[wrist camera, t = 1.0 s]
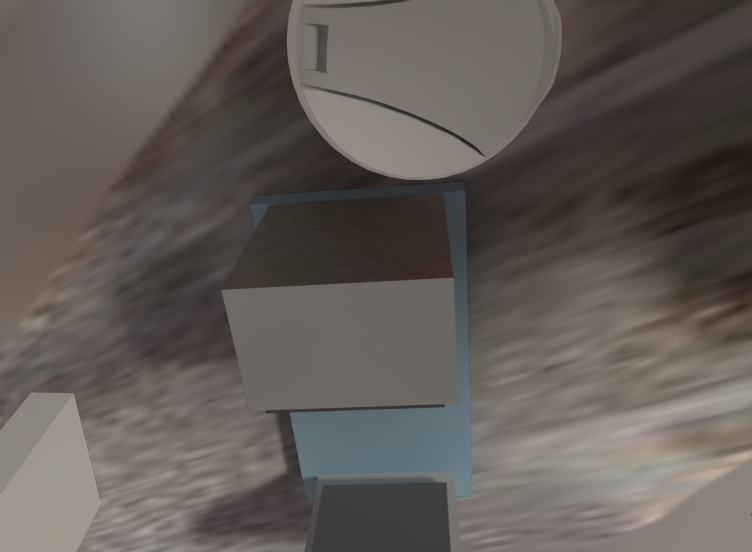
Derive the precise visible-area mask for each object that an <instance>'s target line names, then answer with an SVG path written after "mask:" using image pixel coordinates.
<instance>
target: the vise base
mask: <svg viewBox="0 0 752 552" xmlns="http://www.w3.org/2000/svg"><path fill="white" fill-rule="evenodd" d="M438 194H443V195H444V203H445V211H446V219H447V227H448V236H449V244H450V252H451V260H452V268H453V276H454V301H455V331H456V360H457V389H458V404H444V405H445V407H439V408H410V409H381V410H351V411H322V412H293V413H290V417H291V422H292V427H293V433H294V438H295V443H296V448H297V453H298V458H299V464H300V469H301V474H302V479H303V484H304V489H305V495H306V500H314V503H313V509H312V514H311V520H310V525H309V531H308V536H307V542H306V547H305V552H461V549H460V537H459V524H458V511H457V498H456V497H472V459H471V415H470V372H469V328H468V284H467V241H466V197H465V187H464V182H452V183H436V184H421V185H406V186H391V187H376V188H361V189H346V190H330V191H315V192H300V193H285V194H270V195H255V197H254V199H253V200H252V202H251V203H250V210H251V215H252V220H253V226H254V231H255V230H256V228H257V226H258V225H259V223H260V221H261V219H262V217H263V216H264V214H265V212H266V210H267V209H268V207H269V205H283V204H298V203H314V202H329V201H345V200H360V199H376V198H391V197H407V196H422V195H438Z"/></svg>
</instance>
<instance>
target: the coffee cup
mask: <svg viewBox="0 0 752 552" xmlns="http://www.w3.org/2000/svg"><path fill="white" fill-rule="evenodd" d="M561 46H562V19H561V17H560V14H559V11H558V9H557V6H556V4H555V1H554V0H293V1H292V5H291V9H290V14H289V19H288V30H287V52H288V63H289V68H290V73H291V78H292V82H293V85H294V88H295V90H296V93H297V96H298V99H299V101H300V103H301V105H302V107H303V109H304V111H305V113H306V114H307V116H308V118H309V120H310V121H311V123H312V124H313V125H314V127H315V128H316V129H317V130H318V132H319V133H320V134H321V136H322V137H323V138H324V139H325V140H326V141H327V142H328V143H329V144H330V145H331V146H332V147H333V148H334V149H335V150H337V151H338V152H339V153H341V154H342V155H344V156H345V157H346V158H348V159H349V160H351V161H352V162H354V163H356V164H358V165H360V166H362V167H364V168H366V169H368V170H370V171H373V172H376V173H379V174H382V175H385V176H388V177H394V178H399V179H405V180H430V179H437V178H445V177H448V176H452V175H455V174H459V173H462V172H465V171H467V170H469V169H471V168H474V167H476V166H478V165H480V164H482V163H484V162H485V161H487V160H488V159H490V158H491V157H493V156H495V155H496V154H498V153H499V152H500V151H501V150H502V149H504V148H505V147H506V146H507V145H508V144H509V143H510V142H512V141H513V140H514V139H515V138H516V137H517V135H518V134H519V133H520V132H521V131H522V130H523V128H524V127H525V126H526V125H527V124H528V122H529V121H530V119H531V117H532V116H533V114H534V113H535V111H536V110H537V108H538V106H539V105H540V103H541V102H542V101H543V99H544V98H545V96H546V95H547V94H548V92H549V91H550V89H551V88H552V86H553V84H554V80H555V77H556V73H557V70H558V66H559V61H560V53H561Z"/></svg>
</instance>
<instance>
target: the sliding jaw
mask: <svg viewBox="0 0 752 552" xmlns="http://www.w3.org/2000/svg"><path fill="white" fill-rule="evenodd" d="M222 295H223V299H224V303H225V308H226V312H227V316H228V321H229V325H230V329H231V334H232V338H233V342H234V347H235V351H236V355H237V360H238V364H239V368H240V373H241V377H242V381H243V386H244V390H245V394H246V399H247V403H248V407H249V411H258V410H266V413H293V412H322V411H351V410H381V409H410V408H439V407H445V405H444V404H458V389H457V360H456V331H455V301H454V276H453V268H452V260H451V252H450V244H449V236H448V227H447V219H446V211H445V203H444V195H443V194H438V195H422V196H407V197H391V198H376V199H360V200H345V201H329V202H314V203H298V204H283V205H269V207H268V209H267V210H266V212H265V214H264V216H263V217H262V219H261V221H260V223H259V225H258V226H257V228H256V230H255V232H254V233H253V235H252V237H251V239H250V240H249V242H248V244H247V246H246V247H245V249H244V251H243V253H242V255H241V256H240V258H239V260H238V262H237V263H236V265H235V267H234V269H233V270H232V272H231V274H230V276H229V277H228V279H227V281H226V283H225V284H224V286H223V288H222Z"/></svg>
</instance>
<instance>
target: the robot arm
mask: <svg viewBox="0 0 752 552" xmlns="http://www.w3.org/2000/svg"><path fill="white" fill-rule="evenodd" d="M100 505H101V503H100V499H99V495H98V491H97V487H96V483H95V479H94V475H93V471H92V466H91V462H90V458H89V454H88V450H87V446H86V442H85V438H84V434H83V430H82V426H81V422H80V418H79V414H78V409H77V405H76V401H75V397H74V393H30V395H29V396H28V397H27V398H26V400H25V401H24V402H23V403H22V404H21V406H20V407H19V408H18V409H17V411H16V412H15V413H14V414H13V415H12V417H11V418H10V419H9V420H8V422H7V423H6V424H5V425H4V426H3V428H2V429H1V430H0V552H76V551H77V549H78V547H79V545H80V543H81V541H82V540H83V538H84V536H85V534H86V532H87V530H88V528H89V526H90V524H91V522H92V520H93V518H94V516H95V515H96V513H97V511H98V509H99V507H100ZM751 516H752V514H751Z"/></svg>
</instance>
